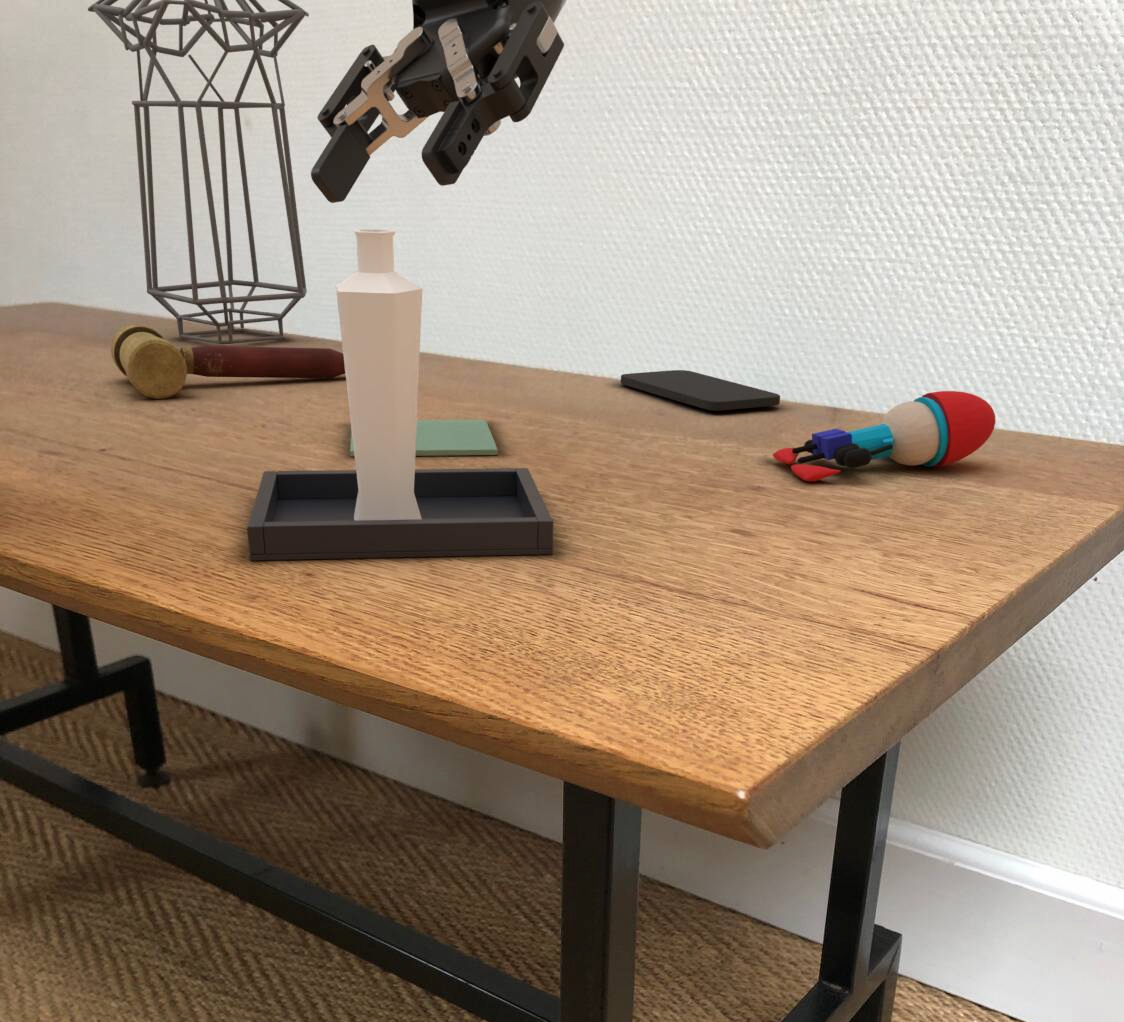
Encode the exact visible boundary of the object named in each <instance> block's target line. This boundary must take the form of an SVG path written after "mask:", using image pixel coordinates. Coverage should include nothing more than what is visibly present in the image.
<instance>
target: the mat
mask: <svg viewBox="0 0 1124 1022" xmlns="http://www.w3.org/2000/svg"><path fill="white" fill-rule="evenodd" d="M350 429H351V430H350V446H349V448H350V449H349V455H350V457H351V458H352V457H354V458H355V455H354V446H353V437H352V428H351V427H350ZM498 455H499V449H498V447H497V444H496V441H495V439H494V436H493V435H492V431H491V430H490V427H489V425H488V422H487V420H486V419H417V429H416V453H415V457H423V456H424V457H431V456H432V457H435V456H436V457H438V456H441V457H444V456H445V457H446V456H448V457H449V456H498Z"/></svg>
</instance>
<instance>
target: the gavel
mask: <svg viewBox="0 0 1124 1022" xmlns="http://www.w3.org/2000/svg"><path fill="white" fill-rule="evenodd" d="M110 353H111V354H110V355H111V358H112V361H113V363H114V364H115V366H116V367H117V369H118V370H119V371H120V372H121V373H122V375H124V376H125V377H126V378H127V379H128V381H129V382H130V384H132V386H133V387H134V388H135V389H136V390H137V391H138V392H139V393H140V394H141V395H144V396H145V397H148V398H152V399H157V400H160V399H161V400H163V399H167V398H171V397H172V396H174V395H176V394H177V393H178V392H179V391H180V390H182V388H183V386H184V384H185V383H186V380H187V376H188V375H195V376H199V377H206V378H258V379H259V378H261V379H262V378H263V379H265V378H266V379H268V378H269V379H272V378H273V379H334V378H336V377H340V376H343V375H346V374H345V365H344V356H343V352H341V351H338V350H336V349H333V348H327V347H325V348H324V347H287V346H286V347H285V346H284V347H283V346H281V347H280V346H278V347H277V346H245V345H243V346H240V345H200V346H194V347H178V346H175V345H173V344H172V343H171V342H170V341H168V340H166V339H165V338H164V336H162V334H160V333H158V331H156V330H155V329H154V328H153V327H151V326H149V325H146V324H143V323H131V324H130V323H129V324H128V325H127V324H126V325H125V326H123V327H121V328H119V330H118V331H116V333H115V335H114V336H113V338H112V340H111V345H110Z"/></svg>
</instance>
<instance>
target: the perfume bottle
mask: <svg viewBox="0 0 1124 1022" xmlns="http://www.w3.org/2000/svg"><path fill="white" fill-rule="evenodd" d="M353 233H354V234H355V235H356V257H357V271H355V272H354V273H353V274H351V275H349V276H347V278H344V279H343V280H342V281H340V282H339V283H338V284H336V285H335V292H336V301H337V309H338V319H339V329H340V338H341V346H342V353H343V356H344V365H345V374H344V375H345V382H346V392H347V399H348V409H349V418H350V429H351V428H352V437H353V446H354V455H355V457H354V463H355V470H356V473H357V482H358V495H357V501H356V507H355V512H354V520H411V519H422V518H421V515H420V511H419V508H418V505H417V501H416V498H415V494H414V477H415V469H416V456H415V453H416V429H417V420H418V402H419V381H420V380H419V379H420V353H421V333H422V332H421V330H422V329H421V328H422V307H423V288H422V287H421V286H419V285H418V284H416V283H414V282H412V281H411V280H409V279H408V278H406V277H404V276H403V275H401V274H399V273H398V272H396V271H395V258H394V257H395V255H394V235H395V234H396V230H392V229H391V230H390V229H383V228H382V229H380V228H371V229H370V228H369V229H368V228H366V229H365V228H364V229H362V228H361V229H359V228H357V229H353Z"/></svg>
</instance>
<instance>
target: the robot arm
mask: <svg viewBox="0 0 1124 1022" xmlns="http://www.w3.org/2000/svg"><path fill="white" fill-rule="evenodd" d="M567 1H568V0H411V4H412V19H413V20H412V21H413V25H412V26H413V27H412V30H410V32H408V33H407V34H406V35H405V36H403V38H401V39H400V40H399V41H398V42H397V44H396V48H395V49H394V51H393V53H392V54H390V55H386V56H383V55H382V53H380V51H379V49H378V48H377V47H376V45H375V44H370V45H367V46H365V47H364V48H363V49H361V51H360V53H359V54H358V55H357V57H356V58H355V60H354V61H353V63H352V64H351V65H350V67H349V69H348V70H347V72H346V73H345V74H344V76H343V78H341V80H340V81H339V83H338V85H337V86H336V88H335V89H334V91H333V92H332V94H331V95H330V97H329V98H328V99H327V101H326V103H325V104H324V106H323V107H322V109H321V110H320V111H319V113H318V115H317V120H318V122H319V123H320V125H321V126H322V127H323V129H324V130H325V132H326V133H327V134H328V135H329V136H330V139H329V141H328V143H327V144H326V146H325V148H324V149H323V150H322V152H321V154H320V156H319V157H318V159H317V160H316V161H315V163H314V165H313V166H312V168H311V170H310V177H311V180H312V182H313V184H314V185H315V187H317V188H318V190H319V191H320V193H321V194H322V195H323V196H324V198H325V199H326V200H327V201H328V202H329V203H330V204H335V203H336V204H337V203H340V202H344V201H345V200H346V198H347V197H348V195H349V194H350V192H351V191H352V188H353V187H354V185H355V183H356V182H357V180H358V179H359V177H360V176H361V174H362V172H363V170H364V169H365V167H366V165H367V164H368V162H369V161H370V159H371V155H372V154H374V153H375V152H376V151H377V150H378V149H379V148H380V147H382V146H383V145H384V144H385V143H386V142H388V140H390V139H391V138H392V137H396V138H398V139H403V138H406V137H407V136H408V135H409V134H410V133H412V132H413V131H414V130H415V129H416V128H417V127H419V126H420V125H421V124H423V122H424V121H425V120H426V119H428V118H429V117H430V116H433V115H436V114H437V113H443V114H442V115H441V117H440V118H439V120H438V122H437V124H436V126H435V127H434V129H433V130H432V132H431V133H430V136H429V137H428V139H427V140H426V142H425V144H424V146H423V148H422V149H421V159H422V162H423V164H424V166H425V167H426V168H427V170H428V172H429V173H430V174H431V176H432V177H433V178H434V180H435V181H436V183H437V184H438V185H439V186H441V187H443V186H450V185H455V184H456V183H457V180H458V179H459V178H460V177H461V175H462V173H463V171H464V169H465V168H466V167H467V166H468V164H469V163H470V160H471V159H472V157H473V155H474V153H475V151H476V150H477V149H478V147H479V145H480V143H481V142H482V139H484V137H486V136H490V135H492V134H493V133H495V132H496V131H497V130H498V129H499V128H500V126H501V124H502V120H503V119H505V118H507V117H509V118H510V119H511V121H512V122H513V123H519V122H522V121H523V120H525V119H527V118H528V117H529V115H531V112H532V110H533V109H534V106H535V105H536V103H537V101H538V99H539V97H540V95H541V93H542V91H543V89H544V87H545V85H546V83H547V81H548V79H549V77H550V75H551V73H552V71H553V69H554V67H555V65H556V63H557V61H558V59H559V58H560V55H561V53H562V52H563V50H564V47H565V42H564V41H563V39H562V37H561V35H560V33H559V31H558V28H557V27H556V25H555V22H556V20H557V19H558V16H559V15H560V13H561V12H562V10H563V8H564V6H565V4H566V2H567ZM517 78H518V79H519V84H518V83H517V81H516V79H517ZM395 93H396V94H397V95H398V97H399V98H400V100H401V101H402V103H403V104H404V106H405V107H406V108H407V111H405V112H404V113H403V114H398V113H397V112H396V110H395V109H394V107H393V106H392V104H391V103H390V102H391V101H393V100H394V99H395V97H396V95H395ZM379 116H381V122H380V124H378V125H377V126H376V127H375V128H373V129H372V130H371V131H370V129H371V127H372V126H373V125H374V123H375V122H376V120H377V118H378V117H379ZM368 132H369V133H368Z"/></svg>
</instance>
